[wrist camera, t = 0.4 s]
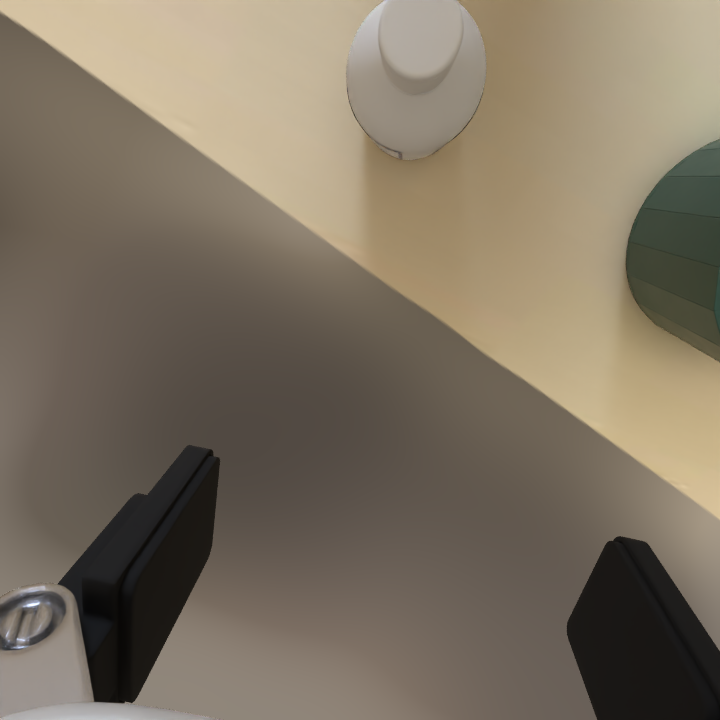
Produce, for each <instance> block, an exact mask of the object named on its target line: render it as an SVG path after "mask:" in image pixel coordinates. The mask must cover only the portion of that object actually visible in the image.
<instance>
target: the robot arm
mask: <svg viewBox="0 0 720 720" xmlns="http://www.w3.org/2000/svg"><path fill="white" fill-rule="evenodd" d="M219 465H220V459H219V458H218V457H214V456H213V451H212V450H211V449H206V448H201V447H196V446H192V445H188V446H187V447H186V448H185V449H184V450H183V452H182V453H181V454H180V455H179V456H178V458H177V459H176V460H175V461H174V463H173V464H172V465H171V466H170V468H169V469H168V470H167V471H166V473H165V474H164V475H163V476H162V478H161V479H160V480H159V481H158V483H157V484H156V485H155V486H154V488H153V489H152V490H151V491H150V492H149V494H148V495H144V494H139V493H138V494H135V495H134V496H133V497H132V498H130V499H129V500H128V502H127V503H126V504H125V505H124V506H123V508H122V509H121V510H120V511H119V512H118V514H117V515H116V516H115V517H114V518H113V519H112V520H111V522H110V523H109V524H108V525H107V526H106V527H105V529H104V530H103V531H102V532H101V533H100V535H99V536H98V537H97V538H96V539H95V541H94V542H93V543H92V544H91V545H90V546H89V547H88V549H87V550H86V551H85V552H84V554H83V555H82V556H81V557H80V558H79V559H78V560H77V562H76V563H75V564H74V565H73V566H72V567H71V569H70V570H69V571H68V572H67V573H66V575H65V576H64V577H63V578H62V579H61V581H60V582H59V583H58V584H54V583H36V584H32V585H26V586H22V587H20V588H17V589H15V590H12V591H9V592H8V593H6V594H4V595H2V596H1V597H0V720H222V719H217V718H212V717H206V716H201V715H196V714H190V713H186V712H180V711H175V710H170V709H163V708H155V707H148V706H141V705H134V704H127V703H126V704H125V701H126V702H130V703H133V702H134V701H135V699H136V698H137V696H138V695H139V693H140V691H141V689H142V687H143V685H144V683H145V681H146V679H147V677H148V675H149V673H150V671H151V669H152V667H153V666H154V664H155V661H156V660H157V658H158V656H159V654H160V652H161V650H162V648H163V646H164V644H165V642H166V640H167V638H168V636H169V634H170V632H171V630H172V628H173V626H174V624H175V623H176V620H177V619H178V617H179V615H180V613H181V611H182V609H183V607H184V605H185V603H186V601H187V599H188V597H189V595H190V593H191V591H192V589H193V587H194V585H195V583H196V581H197V579H198V578H199V576H200V573H201V572H202V570H203V568H204V566H205V564H206V562H207V560H208V557H209V555H210V551H211V547H212V540H213V530H214V519H215V508H216V498H217V487H218V477H219ZM567 635H568V639H569V642H570V645H571V648H572V650H573V653H574V656H575V659H576V661H577V664H578V667H579V670H580V673H581V675H582V678H583V681H584V684H585V687H586V689H587V692H588V695H589V698H590V700H591V703H592V706H593V709H594V712H595V715H596V717H597V720H720V651H719V650H718V648H717V647H716V645H715V644H714V642H713V641H712V639H711V638H710V636H709V635H708V633H707V632H706V630H705V629H704V627H703V626H702V624H701V623H700V621H699V620H698V618H697V617H696V615H695V614H694V612H693V611H692V609H691V608H690V606H689V605H688V603H687V602H686V600H685V599H684V597H683V596H682V594H681V593H680V591H679V590H678V588H677V587H676V585H675V584H674V582H673V581H672V579H671V578H670V576H669V575H668V573H667V572H666V570H665V569H664V567H663V566H662V564H661V563H660V561H659V560H658V558H657V557H656V555H655V554H654V552H653V551H652V550H651V548H650V546H649V545H648V544H647V543H646V542H643V541H640V540H635V539H631V538H626V537H621V536H620V537H616V538H615V539H614V540H613V541H609V542H607V543H606V545H605V547H604V549H603V551H602V553H601V555H600V557H599V559H598V561H597V563H596V565H595V567H594V569H593V571H592V573H591V575H590V577H589V579H588V581H587V583H586V585H585V587H584V589H583V591H582V593H581V595H580V597H579V600H578V602H577V604H576V606H575V608H574V610H573V612H572V614H571V616H570V618H569V620H568V623H567Z"/></svg>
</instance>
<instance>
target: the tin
mask: <svg viewBox="0 0 720 720" xmlns="http://www.w3.org/2000/svg"><path fill="white" fill-rule="evenodd" d="M626 267H627V277H628V281H629V285H630V289H631V291H632V293H633V296H634V298H635V300H636V302H637V303H638V305H639V306H640V308H641V310H642V311H643V312H644V313H645V314H646V315H647V316H648V317H649V318H650V319H651V320H652V321H653V323H654V324H656V325H657V326H659V327H661V328H662V329H664V330H666V331H668V332H669V333H671V334H673V335H674V336H676V337H678V338H679V339H681V340H683V341H685V342H686V343H688V344H690V345H691V346H693V347H695V348H697V349H698V350H700V351H702V352H703V353H705V354H707V355H709V356H710V357H712V358H714V359H715V360H717V361H719V362H720V139H719V140H716V141H714V142H712V143H709V144H707V145H706V146H704V147H702V148H700V149H699V150H697V151H695V152H693V153H692V154H691V155H689V156H688V157H686V158H685V159H683V160H682V161H681V162H679V163H678V164H677V165H676V166H675V167H674V168H673V169H671V170H670V171H669V172H668V173H667V174H666V175H665V176H664V177H663V178H662V180H661V181H660V182H659V183H658V184H657V185H656V186H655V188H654V189H653V190H652V192H651V193H650V194H649V196H648V197H647V199H646V200H645V202H644V204H643V205H642V207H641V209H640V211H639V213H638V215H637V217H636V219H635V222H634V224H633V227H632V230H631V233H630V237H629V241H628V247H627V258H626Z"/></svg>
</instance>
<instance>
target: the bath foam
mask: <svg viewBox="0 0 720 720" xmlns="http://www.w3.org/2000/svg"><path fill="white" fill-rule="evenodd" d="M346 77H347V92H348V98H349V102H350V106H351V109H352V111H353V113H354V116H355V118H356V119H357V121H358V123H359V124H360V126H361V127H362V129H363V130H364V131H365V132H366V133H367V135H368V136H369V137H370V138H371V139H372V140H373V142H374V143H375V144H376V145H377V146H378V147H379V148H380V149H381V150H383V151H384V152H385V153H387V154H389V155H391V156H393V157H395V158H399V159H404V160H416V159H421V158H424V157H427V156H429V155H431V154H433V153H435V152H436V151H438V150H439V149H441V148H442V147H443V146H444V145H446V144H447V143H448V142H450V141H451V140H452V139H454V138H455V137H456V136H457V135H458V134H459V133H460V132H461V131H462V130H463V129H464V128H465V127H466V126H467V124H468V123H469V122H470V120H471V119H472V117H473V115H474V114H475V112H476V110H477V108H478V105H479V103H480V100H481V97H482V94H483V90H484V85H485V79H486V54H485V48H484V43H483V39H482V36H481V34H480V31H479V29H478V27H477V25H476V23H475V21H474V20H473V18H472V17H471V15H470V14H469V13H468V11H467V10H466V9H465V8H464V7H463V6H462V5H461V4H460V3H459V2H458V1H457V0H384V1H383V2H382V3H380V4H379V5H378V6H377V7H376V8H374V9H373V10H372V11H371V12H370V14H369V15H368V16H367V17H366V18H365V20H364V21H363V23H362V24H361V26H360V27H359V29H358V31H357V33H356V35H355V37H354V40H353V42H352V45H351V48H350V52H349V56H348V61H347V71H346Z"/></svg>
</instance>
